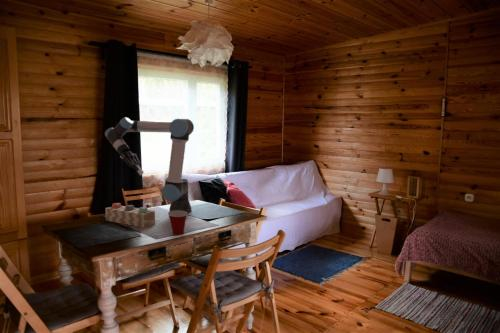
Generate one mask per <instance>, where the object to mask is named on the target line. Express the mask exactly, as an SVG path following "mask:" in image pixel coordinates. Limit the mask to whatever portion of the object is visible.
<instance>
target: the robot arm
mask: <svg viewBox="0 0 500 333" xmlns="http://www.w3.org/2000/svg"><path fill="white" fill-rule="evenodd" d="M194 129H195V127H194V123H193V121H192V120H191V119H188V118H183V117H177V118H175V119H172V121H171V120H170V121H168V120H166V121H165V120H164V121H163V120H131V119H130V118H129V117H126V116H124V117H123V118H121V119H120V121H119V122H118V123H116V125H115V127H109V128H108V129H106V130H105V132H104V136H105V137H106V139H107V140H108V141H109V143H110V144H111V145H112V147H113V148H114V149H115V150H116V152H117V153H118V154H119V155H120V156H119V159H120V160H122V161H123V162H124V163H125V164H126V165H127V166H128V167H130V168H132V169H134V170H135V171H136V172H137V173H138V175H139V176H142V175H143V174H144V170H143V169H142V167H141V166H140V165H141V164H142V163H141V162H140V160H139V158H138V155H137V153H136V152H135V153H133V152H132V151H131V148H130V147H129V145H128V144H127V143H126V141H125V140H124V139H123V136H125V134H126V133H130V132H131V133H170V138H169V139H170V140H171V150H170V159H169V166H168V173H167V175H168V177H166V178H165V180H164V186H163V187H162V188H161V195H162V198H163V199H164V200H166V201H167V202H170V206H169V208H168V209H169V212H171V211H185V212H187V213H190V212H192V206H191V203H190V200H189V198H190V197H189V180H188V179H187V178H182V176H183V166H184V162H185V161H184V160H185V151H186V146H187V145H186V143H187V142H188V141H189V138H190V135H191V134H192V133H193V132H194ZM169 212H168V213H169Z"/></svg>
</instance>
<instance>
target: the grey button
mask: <svg viewBox="0 0 500 333" xmlns="http://www.w3.org/2000/svg"><path fill="white" fill-rule="evenodd" d="M134 208H135V206H134V205H133V204H127V205H125V210H126V211H131V210H134Z"/></svg>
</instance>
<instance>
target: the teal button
mask: <svg viewBox="0 0 500 333" xmlns="http://www.w3.org/2000/svg"><path fill="white" fill-rule="evenodd" d="M138 208H139V213H146V212H148V210H149V209H148V207H146V206H141V207H138Z"/></svg>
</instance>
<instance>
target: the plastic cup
mask: <svg viewBox="0 0 500 333" xmlns="http://www.w3.org/2000/svg"><path fill="white" fill-rule="evenodd" d="M188 213H189V212H185V211H171V212H167V215H168V217H169V221H170V227H171V231H172V234H173V235H174V236H181V235H183V234H184V232H185V225H186V220H187V216H188Z"/></svg>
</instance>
